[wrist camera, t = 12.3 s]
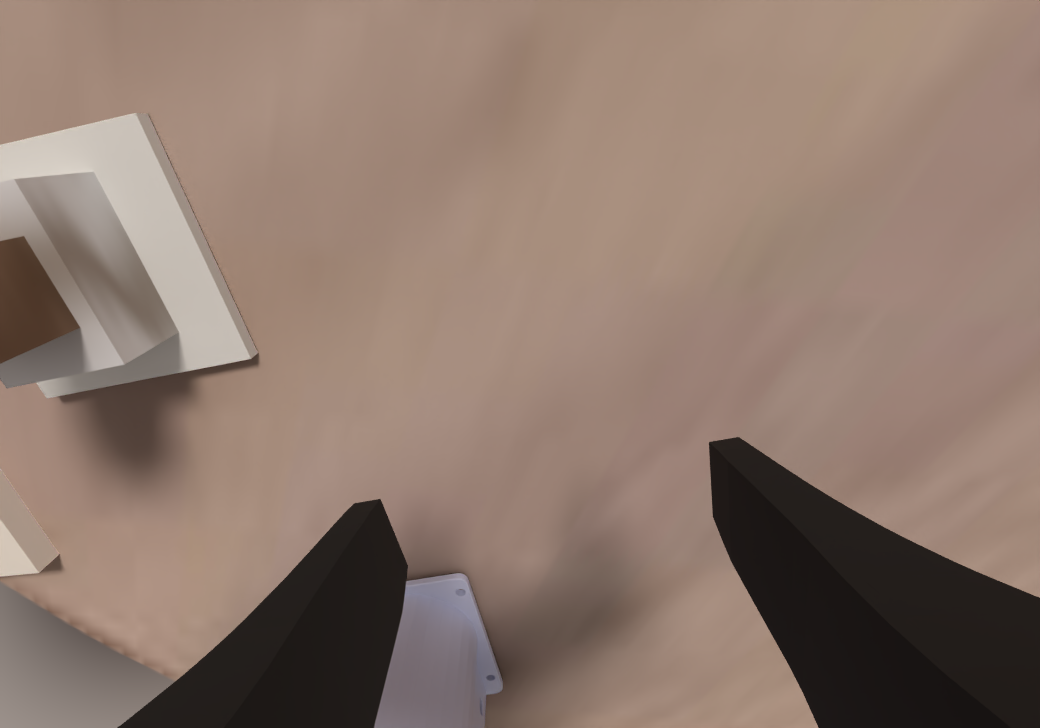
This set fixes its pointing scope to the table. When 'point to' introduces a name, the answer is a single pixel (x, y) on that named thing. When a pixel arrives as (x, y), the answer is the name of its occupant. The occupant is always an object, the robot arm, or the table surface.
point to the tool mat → (144, 244)
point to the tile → (21, 535)
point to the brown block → (70, 283)
